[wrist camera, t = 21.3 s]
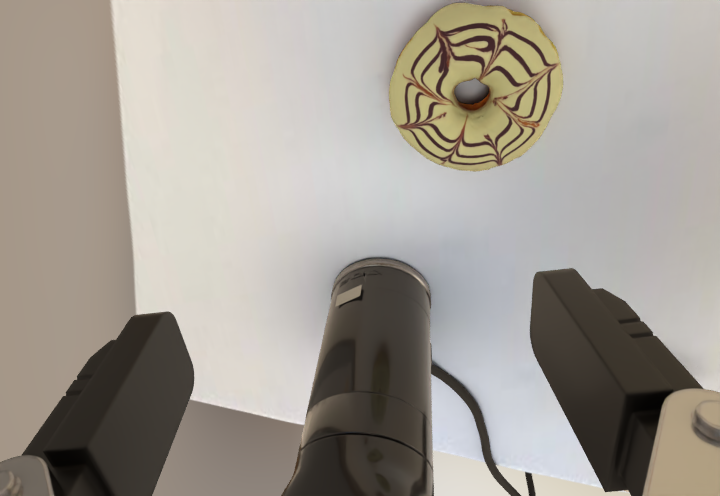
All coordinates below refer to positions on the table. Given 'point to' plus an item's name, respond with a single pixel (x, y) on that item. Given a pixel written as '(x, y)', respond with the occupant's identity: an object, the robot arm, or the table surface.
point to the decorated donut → (492, 68)
